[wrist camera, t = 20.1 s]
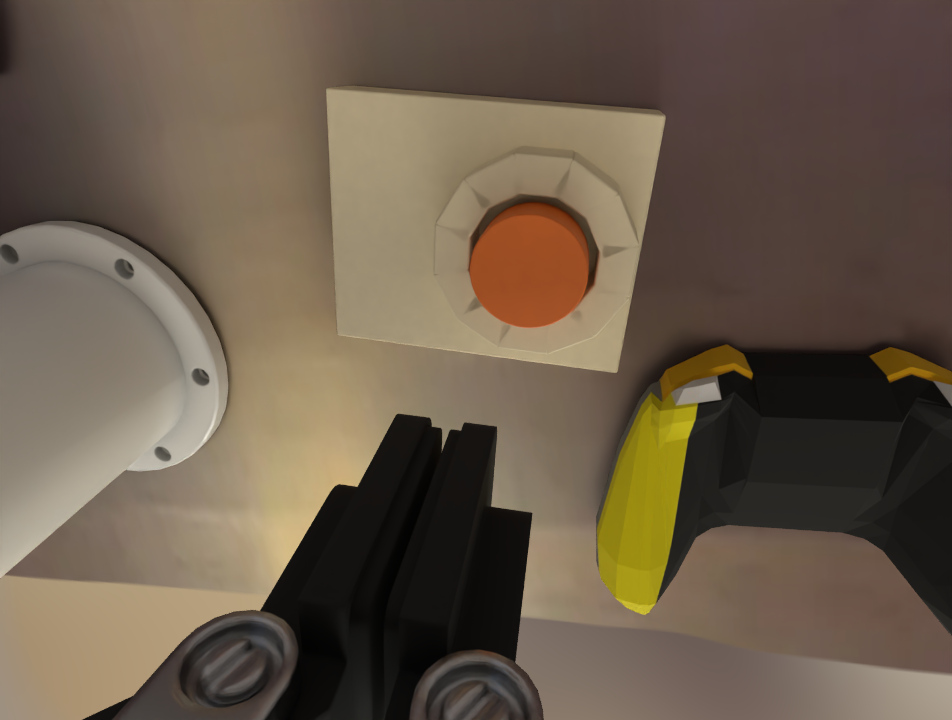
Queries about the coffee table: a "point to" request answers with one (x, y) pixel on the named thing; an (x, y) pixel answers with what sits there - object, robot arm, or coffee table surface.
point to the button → (530, 265)
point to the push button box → (481, 214)
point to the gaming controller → (783, 464)
